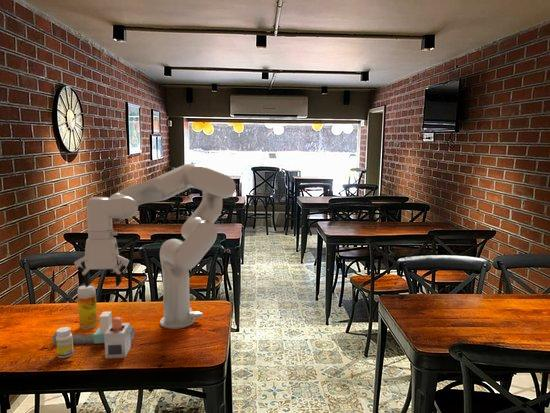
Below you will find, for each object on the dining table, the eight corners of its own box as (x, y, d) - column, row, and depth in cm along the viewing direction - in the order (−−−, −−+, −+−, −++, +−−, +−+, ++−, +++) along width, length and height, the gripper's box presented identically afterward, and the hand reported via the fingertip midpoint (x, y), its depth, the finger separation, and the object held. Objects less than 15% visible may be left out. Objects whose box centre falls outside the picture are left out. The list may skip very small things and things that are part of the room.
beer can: (91, 330, 156) (88, 290, 154) (76, 329, 157) (73, 289, 155) (101, 323, 162) (98, 284, 160) (86, 322, 163) (83, 283, 161)
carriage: (119, 335, 151) (118, 310, 150) (115, 342, 146) (114, 316, 144) (98, 336, 150) (97, 311, 149) (93, 343, 145) (92, 317, 144)
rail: (134, 336, 151) (133, 326, 151) (131, 342, 146) (130, 332, 146) (59, 339, 149) (58, 329, 148) (53, 346, 144) (52, 335, 143)
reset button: (123, 328, 140) (122, 316, 140) (121, 332, 137) (120, 320, 137) (113, 328, 140) (113, 316, 139) (111, 332, 137) (110, 320, 136)
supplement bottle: (60, 351, 140) (58, 326, 139) (75, 350, 141) (74, 325, 140) (54, 358, 136) (52, 332, 134) (70, 357, 136) (68, 332, 135)
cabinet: (131, 345, 144) (129, 322, 143) (125, 357, 136) (123, 333, 135) (112, 346, 143) (111, 323, 142) (105, 358, 135) (103, 334, 134)
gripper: (130, 232, 147) (132, 281, 150) (77, 233, 146) (80, 282, 148) (125, 236, 140) (127, 288, 142) (69, 237, 138) (72, 289, 141)
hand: (103, 285), depth 145 cm, fingers open, 9 cm apart
